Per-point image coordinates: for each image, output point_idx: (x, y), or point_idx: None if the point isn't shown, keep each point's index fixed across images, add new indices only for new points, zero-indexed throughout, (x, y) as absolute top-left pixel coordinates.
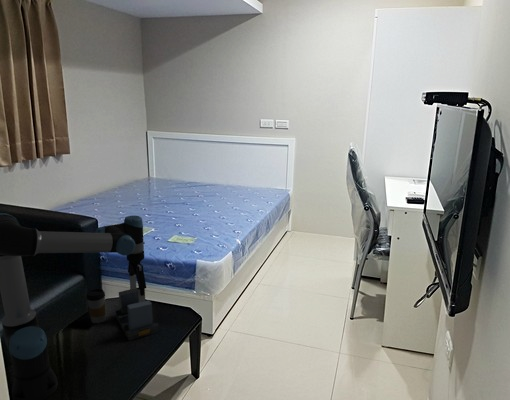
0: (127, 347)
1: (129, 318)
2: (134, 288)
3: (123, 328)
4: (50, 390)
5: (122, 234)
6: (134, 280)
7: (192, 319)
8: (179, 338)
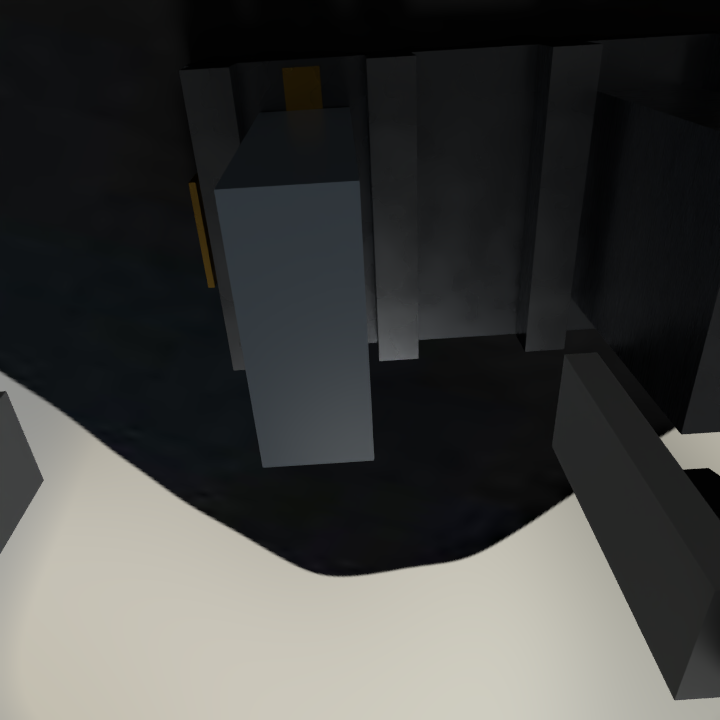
0: (82, 26)
1: (281, 143)
2: (559, 421)
3: (380, 54)
4: None
5: None
6: (625, 557)
7: (306, 553)
8: (97, 436)
